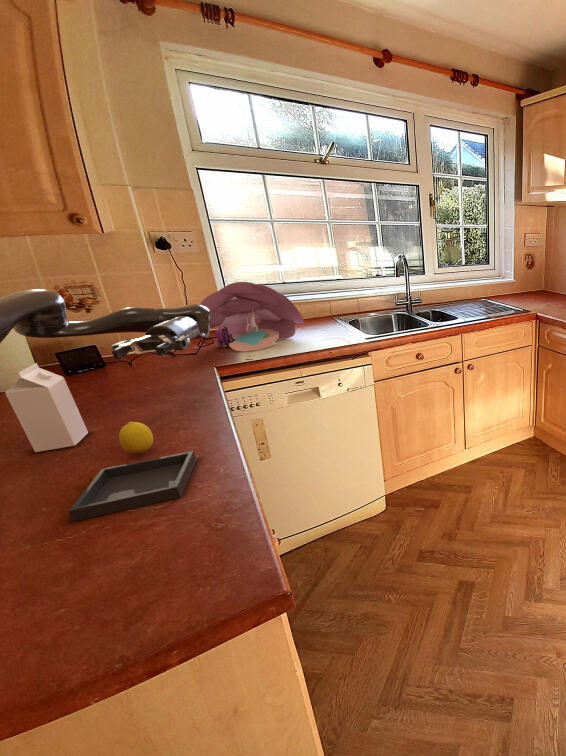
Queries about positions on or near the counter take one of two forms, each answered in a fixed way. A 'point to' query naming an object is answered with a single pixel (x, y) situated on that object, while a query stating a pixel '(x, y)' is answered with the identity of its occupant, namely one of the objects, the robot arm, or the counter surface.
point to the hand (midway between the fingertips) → (137, 353)
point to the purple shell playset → (251, 316)
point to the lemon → (135, 437)
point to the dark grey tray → (134, 485)
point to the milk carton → (46, 409)
